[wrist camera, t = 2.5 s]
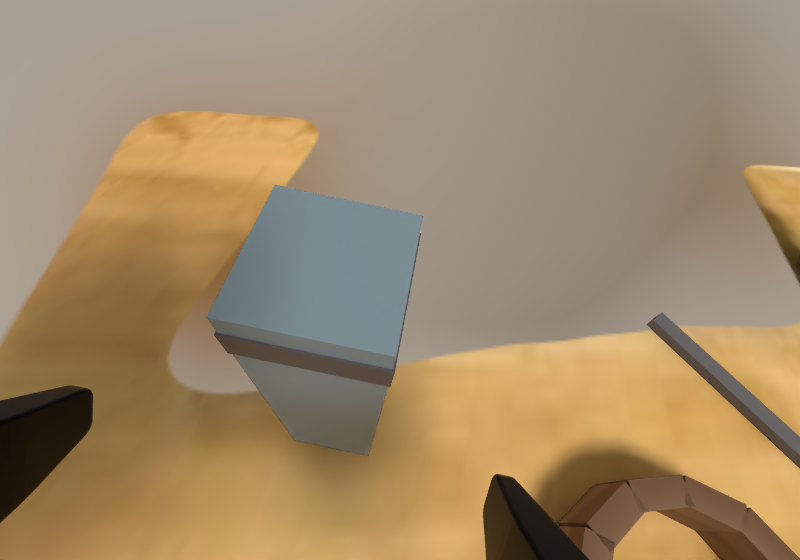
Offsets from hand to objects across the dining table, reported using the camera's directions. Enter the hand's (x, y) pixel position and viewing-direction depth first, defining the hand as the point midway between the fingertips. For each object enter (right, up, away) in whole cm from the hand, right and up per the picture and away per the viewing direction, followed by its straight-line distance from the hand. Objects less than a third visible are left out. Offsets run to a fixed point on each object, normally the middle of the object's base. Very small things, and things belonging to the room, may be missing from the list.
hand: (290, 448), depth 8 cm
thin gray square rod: (+22, -4, +13) cm, 26 cm away
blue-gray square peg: (-1, -3, +11) cm, 11 cm away
